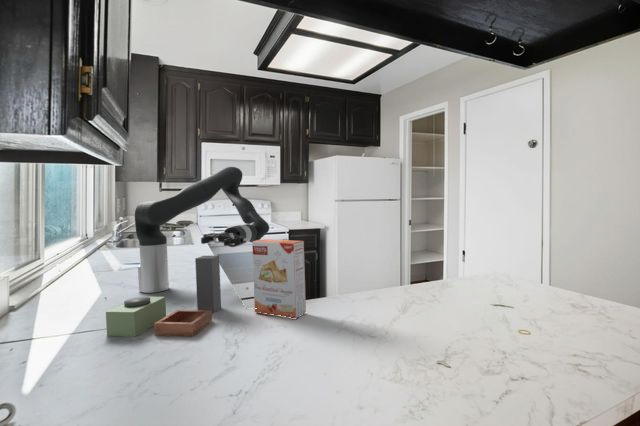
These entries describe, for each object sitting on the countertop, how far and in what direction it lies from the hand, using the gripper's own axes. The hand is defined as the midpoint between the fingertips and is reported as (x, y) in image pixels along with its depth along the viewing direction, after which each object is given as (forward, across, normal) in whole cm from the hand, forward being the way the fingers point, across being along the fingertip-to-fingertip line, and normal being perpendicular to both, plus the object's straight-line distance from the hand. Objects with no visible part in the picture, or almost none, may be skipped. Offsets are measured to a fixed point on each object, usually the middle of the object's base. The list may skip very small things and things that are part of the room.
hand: (213, 241), depth 112 cm
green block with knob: (+27, +4, -19) cm, 33 cm away
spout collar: (+26, -9, -18) cm, 32 cm away
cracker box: (+11, -29, -17) cm, 35 cm away
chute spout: (+12, -7, -18) cm, 23 cm away
